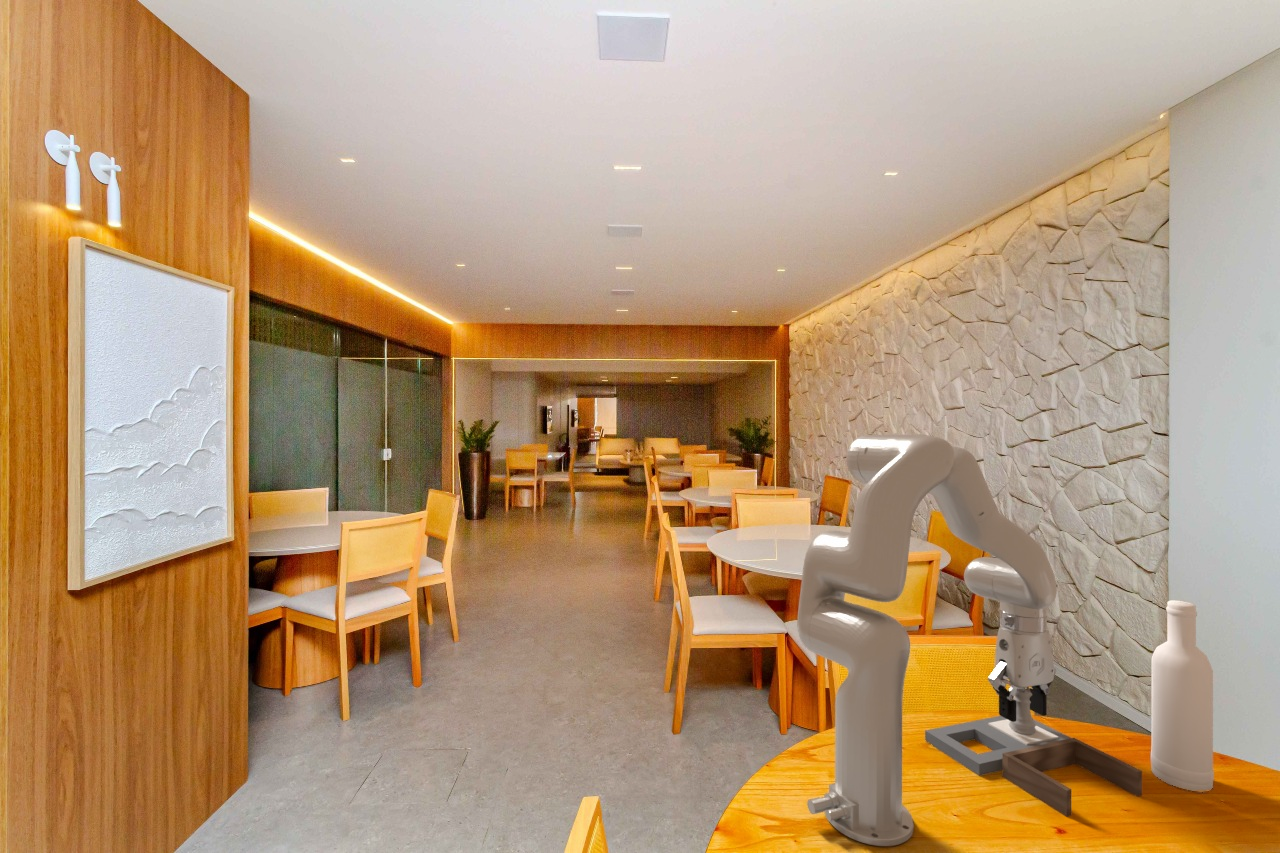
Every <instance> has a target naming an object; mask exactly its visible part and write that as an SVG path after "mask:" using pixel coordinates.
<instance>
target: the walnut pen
mask: <svg viewBox="0 0 1280 853" xmlns="http://www.w3.org/2000/svg"><path fill="white" fill-rule="evenodd" d="M1072 765H1077V766H1079V767H1080V768H1082V769H1084V770H1086V771H1088V772H1091V773H1092V774H1094V775H1096V776H1098V777H1099V778H1102V779H1104V780H1106V781H1107V782H1108V783H1111V784H1113V785H1115V786H1117V787H1118V788H1120V789H1121V790H1124V791H1126V792H1127V793H1130V794H1132V795H1133V796H1135V795H1136V796H1135V797H1137V796H1138V798H1139V797H1141V795H1142V796H1143V770H1141V769H1139V768H1137V767H1135V766H1133V765H1131V764H1128V763H1127V762H1125V761H1122V760H1121V759H1118V758H1117V757H1114V756H1113V755H1110V754H1109V753H1106V752H1104V751H1102V750H1100V749H1098V748H1096V747H1094V746H1092V745H1091V744H1088V743H1085V742H1084V741H1081V740H1079V739H1077V738H1075V737H1071V738H1070V739H1065V740H1061V741H1056V742H1052V743H1047V744H1043V745H1038V746H1034V747H1029V748H1025V749H1020V750H1016V751H1011V752H1007V753H1003V754H1002V770H1001V771H1002V778H1003V779H1005V780H1006V781H1009V782H1010V783H1012V784H1013V785H1015V786H1016V787H1019V789H1022V790H1023V791H1025V792H1026V793H1028V794H1029V795H1031V796H1033V798H1036V799H1038V800H1039V801H1041V802H1042V803H1044V804H1045V805H1047V806H1048V807H1050V808H1053V810H1056V811H1057V812H1059V813H1060V814H1061V815H1063V816H1064V817H1071V816H1072V788H1070V787H1069V786H1067V785H1065V784H1063V783H1061V782H1060V781H1057V779H1054V778H1053V777H1051V776H1049V775H1047V774H1046V773H1044V772H1046V771H1051V770H1055V769H1060V768H1064V767H1068V766H1072Z"/></svg>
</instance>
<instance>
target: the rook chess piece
mask: <svg viewBox="0 0 1280 853" xmlns="http://www.w3.org/2000/svg"><path fill="white" fill-rule="evenodd" d="M1029 688H1030V687H1026V688H1017V690H1016V693H1015V696H1014V700H1016V721H1015V722H1012V721H1010V720H1009V721H1010V723H1009V726H1010V728H1011V729H1012V730H1013V731H1015V732H1017V733H1021V734H1025V735H1032V734H1034V733H1035V732H1036V729H1035V726H1036V724H1035V722H1034V721H1033V719H1034V718H1033V717H1032V714H1031V710H1030V703H1031V701H1030V700H1029V699H1030V697H1031V696H1032V693H1031V692H1030V689H1029Z"/></svg>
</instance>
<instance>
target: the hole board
mask: <svg viewBox="0 0 1280 853" xmlns="http://www.w3.org/2000/svg"><path fill="white" fill-rule="evenodd" d="M1033 721H1034V722H1035V724H1036V726H1035V729H1036V732H1035V733H1034V734H1032V735H1025V734H1021V733H1017V732H1015V731H1013V730H1012V729H1011V728H1010V726H1009V723H1010V721H1009V720H1008V719H1006V718H1004V717H1002V716H1000V715H997V716H992V717H987V718H983V719H982V718H981V719H977V720H972V721H966V722H961V723H958V724H957V723H956V724H951V725H945V726H941V727H937V728H931V729H925V730H924V741H925V740H926V741H927V742H926V741H925V742H926V743H928V742H929V743H930V744H929V743H928V744H929V745H931V744H932V745H933V746H932V745H931V746H932V747H934V748H935V747H936V748H935V749H937V750H938V751H940V752H941V753H943V754H945V755H947V756H948V757H949V758H951V759H952V760H954V761H955V762H957V763H958V764H960V765H962V766H964V767H965V768H966V769H968V770H969V771H971V772H973V773H974V774H976V775H977V776H983V775H988V774H992V773H997V772H1000V771H1002V754H1003V753H1007V752H1011V751H1016V750H1020V749H1025V748H1029V747H1034V746H1038V745H1043V744H1047V743H1052V742H1056V741H1061V740H1065V739H1070V738H1072V737H1071V736H1069V735H1067V734H1064V733H1063V732H1060V731H1058V730H1056V729H1054V728H1052V727H1050V726H1048V725H1046V724H1044V723H1042V722H1040V721H1038V720H1036V719H1034V718H1033ZM973 740H974V741H977V742H978V743H980V744H982V745H983V746H985V747H986V748H988V749H991V750H989V751H986V752H981V753H977V752H976V751H974V750H972V749H970V748H969V747H968V746H965V745H963V744H962V743H964V742H965V743H966V742H968V741H973Z"/></svg>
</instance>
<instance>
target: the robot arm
mask: <svg viewBox="0 0 1280 853" xmlns="http://www.w3.org/2000/svg"><path fill="white" fill-rule="evenodd" d="M845 456H846V457H845V458H846V462H845V463H846V467H847V470H848V471H849V473H850V475H851V476H852V477H853V478H854V479H855V480H857V481H858V482H860V483H862V484H864V486H863V487H862V489H861V491H860V492H859V494H858V496H857V499H856V502H855V504H854V511H853V515H852V516H853V517H852V523H851V527H850V532H846V531H840V530H827V531H823V532H821V533H819V534H818V535H817V536H815V538H814V539H812V541H811V542H810V543H809V546H808V548H807V549H806V550H807V551H806V553H805V557H804V559H803V567H802V575H801V584H800V593H799V599H798V600H799V601H798V609H797V610H798V611H797V633H798V637H799V640H800V642H801V643H802V645H803V646H804V648H805V649H807V650H808V651H810V652H811V653H813V654H815V655H818V656H820V657H822V658H825V659H827V660H829V661H832V662H834V663H836V664H838V665H840V666H842V667H844V668H846V669H847V670H848V671H847V672H848V673H847V676H846V678H845V679H844V680H843V682H842V683H841V684H840V686H839V687H838V689H837V691H836V695H835V703H834V709H835V710H834V711H835V714H834V716H835V717H834V718H835V720H834V721H835V723H834V727H835V728H834V738H835V739H834V742H835V744H834V751H835V752H834V756H835V757H834V782H833V783H829V784H828V792H826V793H825V794H823V796H821V797H814V798H811V799H807V801H806V802H807V803H806V804H807V809H808V812H809V813H810V814H811V815H816V814H817V815H818V814H820V813H825V817H826V819H827V821H828V822H829V823H830V824H831V825H832V826H833V827H834V828H835V829H836V830H837V831H838V832H840V834H843V835H844V836H846V837H848V838H849V839H852V840H854V841H857V842H859V843H862V844H865V845H869V846H876V847H893V846H898V845H901V844H903V843H906V842H907V841H908V840H909V839H911V838H912V836H913V833H914V819H913V816H912V814H911V813H910V811H909V810H908V809H907V807H906V806H904V805H903V697H904V686H905V679H906V678H905V677H906V673H907V668H908V664H909V658H910V654H911V640H910V635H909V634H908V632H907V629H906V628H905V627H904V626H903V624H902V623H900V622H899V621H898V619H896V618H894V617H892V616H891V615H888V614H887V613H884V612H881V611H879V610H875V609H874V608H870V607H867V606H863V605H859V604H856V603H852V602H848V601H845V597H846V594H848V595H852V596H855V597H857V598H861V599H865V600H869V601H873V602H874V601H875V602H878V603H891V602H894V601H896V600H898V599H899V598H900V597H901V595H902V593H903V592H904V588H905V584H906V579H907V574H908V573H907V572H908V563H909V556H910V555H909V553H910V547H911V546H910V544H911V534H912V526H913V520H914V516H915V513H916V511H917V508H918V507H919V505H920V503H921V502H922V501H923V500H924V498H925V497H926V496H927V495H928V494H930V495H932V496H933V499H934V501H935V502H936V504H937V506H938V508H939V510H940V513H941V515H942V517H943V519H944V522H945V523H946V526H947V528H948V530H949V531H950V532H951V533H952V534H953V535H954V536H955V537H956V538H958V539H959V540H961V541H963V542H964V543H967V544H968V545H970V546H972V547H974V548H976V549H979V550H981V551H983V552H985V553H987V554H989V555H991V556H993V557H990V556H982V557H978V558H974V559H973V560H972V561H970V562H968V564H967V566H966V567H965V569H964V573H963V580H964V584H965V586H966V587H967V589H968V590H969V591H970V592H971V593H972V594H974V595H976V596H979V597H981V598H985V599H988V600H993V601H997V602H999V620H998V621H999V627H998V631H997V636H996V644H995V654H994V655H995V657H994V669H993V671H992V672H991V673H990V675H989V676H988V678H987V680H988V682H989V684H990V685H991V686H992V688H993V690H994V691H995V692H996V695H998V716H1002V717H1004V718H1006V719H1008V720H1010V721H1012V722H1015V721H1016V700H1014V698H1015V693H1016V690H1017V688H1026V687H1029V689H1030V692H1031V693H1032V696H1031V697H1030V699H1029V700H1030V701H1031V703H1030V711H1032V712H1034V713H1036V714H1038V715H1040V716H1042V717H1044V716H1046V715H1047V712H1048V711H1047V710H1048V709H1047V708H1048V707H1047V705H1048V702H1047V701H1048V700H1047V699H1048V698H1047V695H1049V693H1050V689H1049V688H1050V686H1051V685H1052V683H1053V681H1054V677H1055V675H1056V673H1057V669H1056V667H1055V663H1054V652H1053V644H1052V638H1051V634H1050V632H1049V630H1048V629H1047V624H1048V621H1047V619H1048V618H1047V617H1048V615H1047V611H1048V609H1047V608H1049V607H1050V606H1052V604H1053V603H1054V601H1055V600H1056V597H1057V590H1058V589H1057V588H1058V587H1057V581H1056V577H1055V572H1054V571H1053V568H1052V566H1051V562H1050V561H1049V558H1048V556H1047V554H1046V552H1045V550H1044V549H1043V547H1042V546H1041V545H1040V544H1039V543H1038V542H1037V541H1036V540H1035V539H1034V538H1033V537H1032V536H1031V535H1030V534H1028V533H1027V532H1026V531H1024V530H1023V529H1022V528H1020V526H1018V525H1017V524H1015V523H1014V522H1013V521H1011V520H1010V519H1008V518H1007V517H1005V516H1004V515H1003V514H1002V513H1000V511H999V509H998V506H997V504H996V501H995V499H994V498H993V495H992V493H991V490H990V488H989V486H988V484H987V481H986V480H985V477H984V475H983V472H982V470H981V467H980V466H979V465H980V464H979V463H978V461H977V459H976V457H975V456H974V455H973V453H971V452H970V451H968V450H967V449H965V448H962V447H957V446H952V445H951V443H949V442H948V441H947V440H946V439H944V438H943V437H938V436H934V435H925V434H866V435H862V436H859V437H857V438H856V439H854V440H853V441H852V442H851V443H850V445H849V447H848V449H847V451H846V455H845ZM1007 685H1009V687H1008V688H1009V689H1007V688H1006V686H1007Z"/></svg>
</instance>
